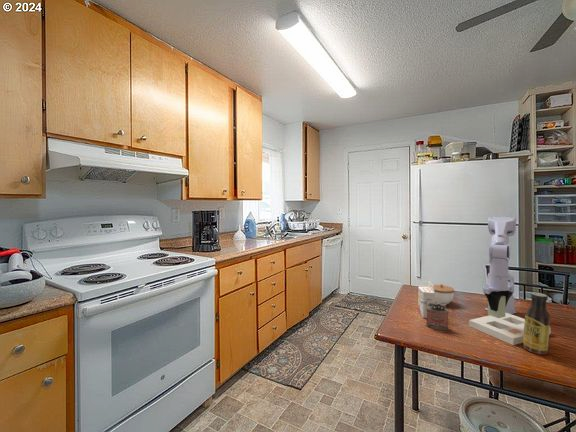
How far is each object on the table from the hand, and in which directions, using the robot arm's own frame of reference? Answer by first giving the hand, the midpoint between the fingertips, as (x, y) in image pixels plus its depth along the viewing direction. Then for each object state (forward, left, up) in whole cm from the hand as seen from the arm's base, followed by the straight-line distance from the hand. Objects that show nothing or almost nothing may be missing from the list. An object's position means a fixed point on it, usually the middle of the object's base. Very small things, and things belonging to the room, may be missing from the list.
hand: (497, 309), depth 104 cm
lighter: (+19, -11, -9) cm, 24 cm away
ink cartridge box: (+13, -22, -9) cm, 27 cm away
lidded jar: (-6, -30, -9) cm, 32 cm away
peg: (0, 0, -3) cm, 3 cm away
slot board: (-5, +1, -9) cm, 10 cm away
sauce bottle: (+3, +14, -9) cm, 17 cm away
